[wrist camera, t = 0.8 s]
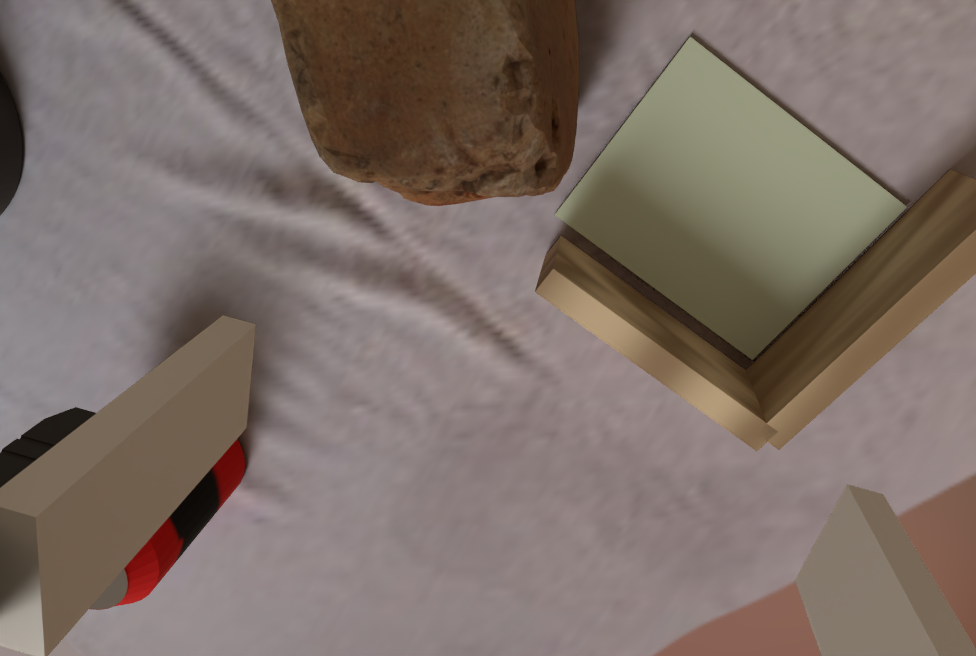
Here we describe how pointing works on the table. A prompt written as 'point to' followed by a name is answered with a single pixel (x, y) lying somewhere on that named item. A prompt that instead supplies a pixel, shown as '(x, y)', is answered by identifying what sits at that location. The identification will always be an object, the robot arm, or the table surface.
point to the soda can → (176, 532)
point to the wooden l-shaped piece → (807, 342)
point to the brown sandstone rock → (438, 92)
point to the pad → (726, 202)
